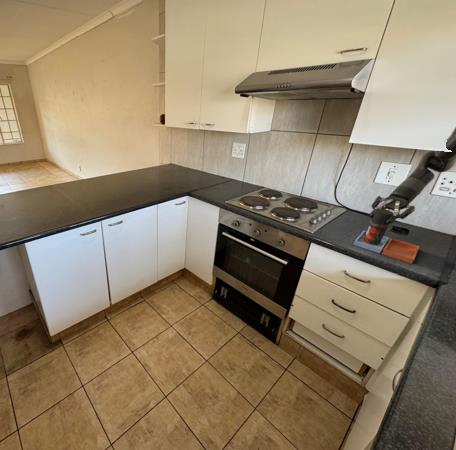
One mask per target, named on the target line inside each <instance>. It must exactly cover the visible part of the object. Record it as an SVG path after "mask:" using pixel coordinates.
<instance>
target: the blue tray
mask: <svg viewBox="0 0 456 450" xmlns="http://www.w3.org/2000/svg"><path fill="white" fill-rule="evenodd" d="M366 232H367V230H362V232H361V233H360V234H359V235H358V236H357V237H356V239H355V240H354V242H353V244H352V245H353V246H356V247H359V248H362V249H366V250H369V251H372V252H374V253H377V254H382V252H383V250H384V248H385V247H386V245H387V243H388V242H389V240H390V237H389V236H385V235H384V236H383V238H382V240H381V242H380V244H378V245H374V244H370V243H367V242H365V241H364V237H365V235H366Z"/></svg>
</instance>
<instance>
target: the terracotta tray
mask: <svg viewBox="0 0 456 450" xmlns="http://www.w3.org/2000/svg"><path fill="white" fill-rule="evenodd" d="M420 248H421V247H420V245H416V244H413V243H410V242H405V241H403V240H399V239H396V238H392V237H390V238H389V240H388V242H387V243H386V245H385V246H384V248H383V249H382V251H381V255H383V256H387V257H388V258H389V257H390V258H393V259H396V260H399V261H402V262H405V263H408V264H411V265H412V264H413V263H414V261H415V259H416V256H417V254H418V252H419V249H420Z"/></svg>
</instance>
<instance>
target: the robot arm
mask: <svg viewBox="0 0 456 450" xmlns="http://www.w3.org/2000/svg"><path fill="white" fill-rule="evenodd" d="M446 140H447V142H446V148H447V149H448V150H451V151H452V152H444V151H431V150H428V151H426V152H424V153H423V154H422V155H421V157H420V159H419V161H418V163H417V165H416V167H415V169H414V170H413V171H412V172H411V173H410V175H408V177H406V178H405V180H403V181H402V182H401V183H400V184H399V185H398V186H397V187H396V188H395V189H394V190H393V191H392V192H391V193H390V194H389V196H387V197H382V196H380V195H378V196H376V198H375V200H374V201H373V202H372V204H371V209H372V211H371V212H370V213H369V218H370V219H372V218H373V216H374V214H375V211H376V210H377V209H384V210H390V211H392V212H393V213H394V214H393V215H392V216H391V217H390V218H389V219H388V220H387V221H386V224H389V225H391V224H393V223H394V222H395V221H396V220H397V219H401V220H404V219H406V218H407V217H408V216H410V215H411V214H412V213H414V212H415V211H416V208H415V205H410V204H411V203H412V202H413V201H414V200H415V199H416V198H417V197H418V196H419V195H421V193H422V192H423V191H424V189H425V188H426V187H427V186H428V185H429V184H430V183H431V182H432V181H433V180H434V179H435V173H434V172H436V173H446V172H448V171H450V170H451V169H452V168H454V166H456V165H455V164H456V126H455V127H454V129H453V131H451V134H450V135H449V136H448V138H447V139H446ZM401 210H404V211H403V212H402V213H401Z"/></svg>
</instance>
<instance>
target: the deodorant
mask: <svg viewBox="0 0 456 450" xmlns="http://www.w3.org/2000/svg"><path fill="white" fill-rule="evenodd" d="M392 215H394V211H392V210H389V209H385V210H384V209H377V210H376V211H375V214H374V216H373V218H371V221H370V223H369V226H368V228H367V230H366V231H367V232H366V235H365V237H364V241H365V242H367V243H370V244H374V245H378V244H380V242H381V240H382V238H383V236H385V234H386V231H387V229H388V227H389V225H390V224H386V221H387V220H388V219H389V218H390V217H391V216H392Z"/></svg>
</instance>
